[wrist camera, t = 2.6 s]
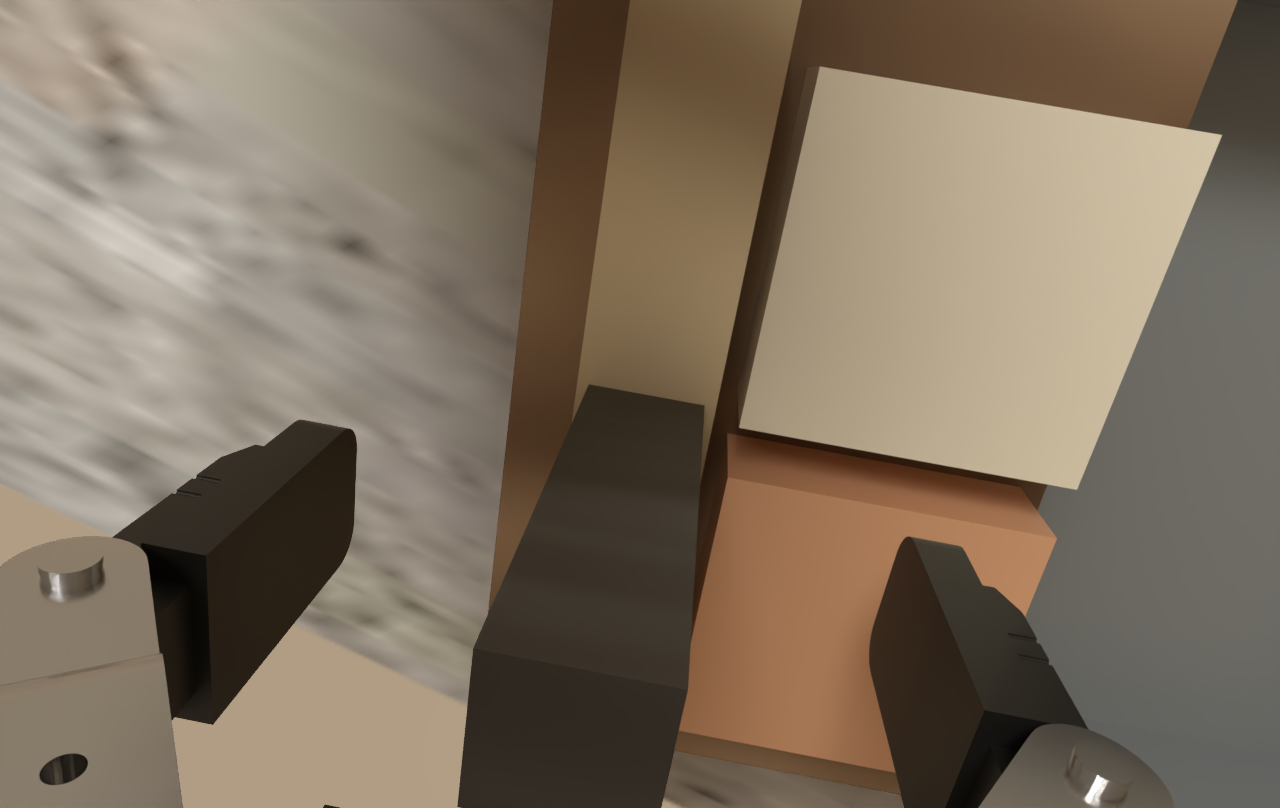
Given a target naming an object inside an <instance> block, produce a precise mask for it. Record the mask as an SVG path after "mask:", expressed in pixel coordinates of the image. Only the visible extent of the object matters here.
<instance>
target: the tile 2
mask: <svg viewBox="0 0 1280 808" xmlns="http://www.w3.org/2000/svg"><path fill="white" fill-rule="evenodd" d="M1221 137H1222V135H1219V134H1213V133H1207V132H1201V131H1195V130H1189V129H1184V128H1178V127H1172V126H1166V125H1160V124H1154V123H1148V122H1143V121H1137V120H1131V119H1125V118H1119V117H1113V116H1107V115H1102V114H1096V113H1090V112H1084V111H1078V110H1072V109H1066V108H1061V107H1055V106H1049V105H1043V104H1037V103H1031V102H1025V101H1020V100H1014V99H1008V98H1002V97H996V96H990V95H984V94H979V93H973V92H967V91H961V90H955V89H949V88H943V87H938V86H932V85H926V84H920V83H914V82H908V81H902V80H897V79H891V78H885V77H879V76H873V75H867V74H861V73H856V72H850V71H844V70H838V69H832V68H826V67H820V66H819V67H808V68H807V72H806V76H805V81H804V85H803V90H802V95H801V99H800V104H799V108H798V113H797V117H796V122H795V127H794V131H793V136H792V140H791V145H790V149H789V154H788V159H787V163H786V168H785V172H784V177H783V181H782V186H781V191H780V195H779V200H778V204H777V209H776V213H775V218H774V223H773V227H772V232H771V236H770V241H769V245H768V250H767V255H766V259H765V264H764V268H763V273H762V277H761V282H760V287H759V291H758V296H757V300H756V305H755V309H754V314H753V319H752V323H751V328H750V332H749V337H748V341H747V346H746V351H745V355H744V360H743V364H742V369H741V373H740V378H739V383H738V387H737V394H738V418H739V428H743V429H748V430H753V431H759V432H764V433H770V434H775V435H781V436H786V437H792V438H797V439H803V440H808V441H813V442H819V443H824V444H830V445H835V446H841V447H846V448H852V449H857V450H862V451H868V452H873V453H879V454H884V455H890V456H895V457H901V458H906V459H911V460H917V461H922V462H928V463H933V464H939V465H944V466H950V467H955V468H960V469H966V470H971V471H977V472H982V473H988V474H993V475H999V476H1004V477H1009V478H1015V479H1020V480H1026V481H1031V482H1037V483H1042V484H1048V485H1053V486H1058V487H1064V488H1069V489H1075V490H1077V489H1078V486H1079V484H1080V481H1081V479H1082V476H1083V474H1084V472H1085V469H1086V467H1087V464H1088V462H1089V459H1090V457H1091V454H1092V452H1093V450H1094V447H1095V445H1096V442H1097V440H1098V437H1099V435H1100V432H1101V430H1102V428H1103V425H1104V423H1105V420H1106V418H1107V415H1108V413H1109V410H1110V408H1111V406H1112V403H1113V401H1114V398H1115V396H1116V393H1117V391H1118V388H1119V386H1120V384H1121V381H1122V379H1123V376H1124V374H1125V371H1126V369H1127V366H1128V364H1129V362H1130V359H1131V357H1132V354H1133V352H1134V349H1135V347H1136V344H1137V342H1138V340H1139V337H1140V335H1141V332H1142V330H1143V327H1144V325H1145V323H1146V320H1147V318H1148V315H1149V313H1150V310H1151V308H1152V305H1153V303H1154V301H1155V298H1156V296H1157V293H1158V291H1159V288H1160V286H1161V283H1162V281H1163V279H1164V276H1165V274H1166V271H1167V269H1168V266H1169V264H1170V261H1171V259H1172V257H1173V254H1174V252H1175V249H1176V247H1177V244H1178V242H1179V239H1180V237H1181V235H1182V232H1183V230H1184V227H1185V225H1186V222H1187V220H1188V217H1189V215H1190V213H1191V210H1192V208H1193V205H1194V203H1195V200H1196V198H1197V195H1198V193H1199V191H1200V188H1201V186H1202V183H1203V181H1204V178H1205V176H1206V173H1207V171H1208V169H1209V166H1210V164H1211V161H1212V159H1213V156H1214V154H1215V151H1216V149H1217V147H1218V144H1219V142H1220V139H1221Z"/></svg>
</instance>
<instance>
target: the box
mask: <svg viewBox="0 0 1280 808" xmlns="http://www.w3.org/2000/svg"><path fill="white" fill-rule="evenodd" d="M1187 129H1189V130H1195V131H1201V132H1207V133H1213V134H1219V135H1222V137H1221V139H1220V142H1219V144H1218V147H1217V149H1216V151H1215V154H1214V156H1213V159H1212V161H1211V164H1210V166H1209V169H1208V171H1207V173H1206V176H1205V178H1204V181H1203V183H1202V186H1201V188H1200V191H1199V193H1198V195H1197V198H1196V200H1195V203H1194V205H1193V208H1192V210H1191V213H1190V215H1189V217H1188V220H1187V222H1186V225H1185V227H1184V230H1183V232H1182V235H1181V237H1180V239H1179V242H1178V244H1177V247H1176V249H1175V252H1174V254H1173V257H1172V259H1171V261H1170V264H1169V266H1168V269H1167V271H1166V274H1165V276H1164V279H1163V281H1162V283H1161V286H1160V288H1159V291H1158V293H1157V296H1156V298H1155V301H1154V303H1153V305H1152V308H1151V310H1150V313H1149V315H1148V318H1147V320H1146V323H1145V325H1144V327H1143V330H1142V332H1141V335H1140V337H1139V340H1138V342H1137V344H1136V347H1135V349H1134V352H1133V354H1132V357H1131V359H1130V362H1129V364H1128V366H1127V369H1126V371H1125V374H1124V376H1123V379H1122V381H1121V384H1120V386H1119V388H1118V391H1117V393H1116V396H1115V398H1114V401H1113V403H1112V406H1111V408H1110V410H1109V413H1108V415H1107V418H1106V420H1105V423H1104V425H1103V428H1102V430H1101V432H1100V435H1099V437H1098V440H1097V442H1096V445H1095V447H1094V450H1093V452H1092V454H1091V457H1090V459H1089V462H1088V464H1087V467H1086V469H1085V472H1084V474H1083V476H1082V479H1081V481H1080V484H1079V486H1078V489H1077V490H1075V489H1069V488H1064V487H1058V486H1053V485H1047V487H1046V490H1045V492H1044V495H1043V498H1042V500H1041V503H1040V505H1039V508H1038V510H1037V511H1038V513H1039V514H1040V515H1041V517H1042V518H1043V520H1044V521H1045V522H1046V524H1047V525H1048V526H1049V528H1050V529H1051V531H1052V532H1053V533H1054V535H1055V536H1056V538H1057V540H1056V542H1055V545H1054V547H1053V550H1052V552H1051V555H1050V557H1049V559H1048V562H1047V564H1046V567H1045V569H1044V572H1043V574H1042V577H1041V579H1040V581H1039V584H1038V586H1037V589H1036V591H1035V594H1034V596H1033V599H1032V601H1031V603H1030V606H1029V608H1028V611H1027V613H1026V616H1025V618H1026V620H1027V622H1028V623H1029V625H1030V627H1031V629H1032V630H1033V632H1034V634H1035V636H1036V637H1037V643H1039V644H1041V646H1042V648H1043V650H1044V652H1045V653H1046V655H1047V657H1048V659H1049V665H1052V666H1053V667H1054V669H1055V671H1056V673H1057V674H1058V676H1059V678H1060V680H1061V681H1062V683H1063V685H1064V687H1065V689H1066V690H1067V692H1068V694H1069V696H1070V697H1071V699H1072V701H1073V703H1074V704H1075V706H1076V708H1077V710H1078V711H1079V713H1080V715H1081V717H1082V719H1083V720H1084V722H1085V724H1086V726H1087V727H1088V729H1089V730H1091V731H1094V732H1096V733H1098V734H1101V735H1103V736H1105V737H1107V738H1109V739H1111V740H1113V741H1115V742H1117V743H1118V744H1120V745H1121V746H1123V747H1125V748H1126V749H1128V750H1129V751H1131V752H1132V753H1133V754H1135V755H1136V756H1137V757H1139V758H1140V759H1141V760H1142V761H1143V762H1145V763H1146V764H1147V765H1148V766H1149V767H1150V768H1151V769H1152V770H1153V771H1154V772H1155V773H1156V774H1157V775H1158V776H1159V778H1160V779H1161V780H1162V782H1163V783H1164V784H1165V786H1166V787H1167V789H1168V791H1169V793H1170V794H1171V797H1172V800H1173V802H1174V808H1280V0H1238V1H1237V4H1236V6H1235V9H1234V11H1233V14H1232V16H1231V19H1230V21H1229V24H1228V27H1227V29H1226V32H1225V34H1224V37H1223V39H1222V42H1221V44H1220V47H1219V49H1218V52H1217V55H1216V57H1215V60H1214V62H1213V65H1212V67H1211V70H1210V72H1209V75H1208V77H1207V80H1206V83H1205V85H1204V88H1203V90H1202V93H1201V95H1200V98H1199V100H1198V103H1197V105H1196V108H1195V111H1194V113H1193V116H1192V118H1191V121H1190V123H1189V126H1188V128H1187Z"/></svg>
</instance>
